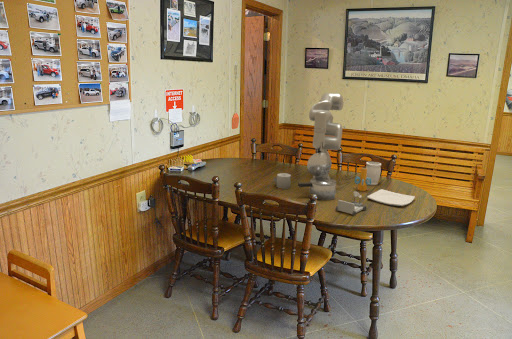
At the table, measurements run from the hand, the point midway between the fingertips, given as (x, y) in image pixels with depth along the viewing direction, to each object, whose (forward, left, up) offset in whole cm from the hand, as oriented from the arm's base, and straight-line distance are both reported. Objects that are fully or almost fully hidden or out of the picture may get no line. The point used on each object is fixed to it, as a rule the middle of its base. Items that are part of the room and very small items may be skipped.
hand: (317, 158), depth 266 cm
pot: (+12, -4, -22) cm, 25 cm away
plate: (+24, +41, -22) cm, 53 cm away
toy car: (+38, +9, -22) cm, 45 cm away
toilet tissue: (-11, -20, -22) cm, 32 cm away
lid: (+4, 0, -4) cm, 5 cm away
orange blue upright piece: (+2, +32, -22) cm, 39 cm away
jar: (-12, +46, -22) cm, 52 cm away
